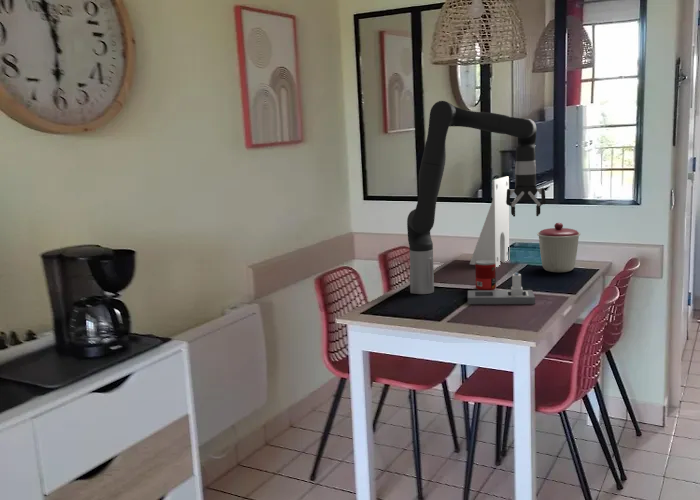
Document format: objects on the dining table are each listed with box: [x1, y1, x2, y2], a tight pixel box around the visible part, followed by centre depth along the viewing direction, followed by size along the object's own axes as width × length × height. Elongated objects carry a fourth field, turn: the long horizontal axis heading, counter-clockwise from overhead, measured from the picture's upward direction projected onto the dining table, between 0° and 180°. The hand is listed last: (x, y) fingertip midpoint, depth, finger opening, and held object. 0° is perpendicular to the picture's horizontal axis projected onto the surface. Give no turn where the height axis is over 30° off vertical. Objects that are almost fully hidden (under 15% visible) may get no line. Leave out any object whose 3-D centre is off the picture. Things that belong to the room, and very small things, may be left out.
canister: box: [536, 222, 581, 273], centre depth 302 cm, size 18×18×21 cm
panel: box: [467, 289, 536, 305], centre depth 258 cm, size 24×11×3 cm, turn 80°
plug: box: [510, 272, 524, 296], centre depth 257 cm, size 4×4×10 cm
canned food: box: [474, 260, 497, 290], centre depth 276 cm, size 8×8×11 cm
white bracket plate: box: [469, 175, 510, 268], centre depth 323 cm, size 20×14×40 cm
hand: (525, 216), depth 260 cm, fingers open, 8 cm apart
